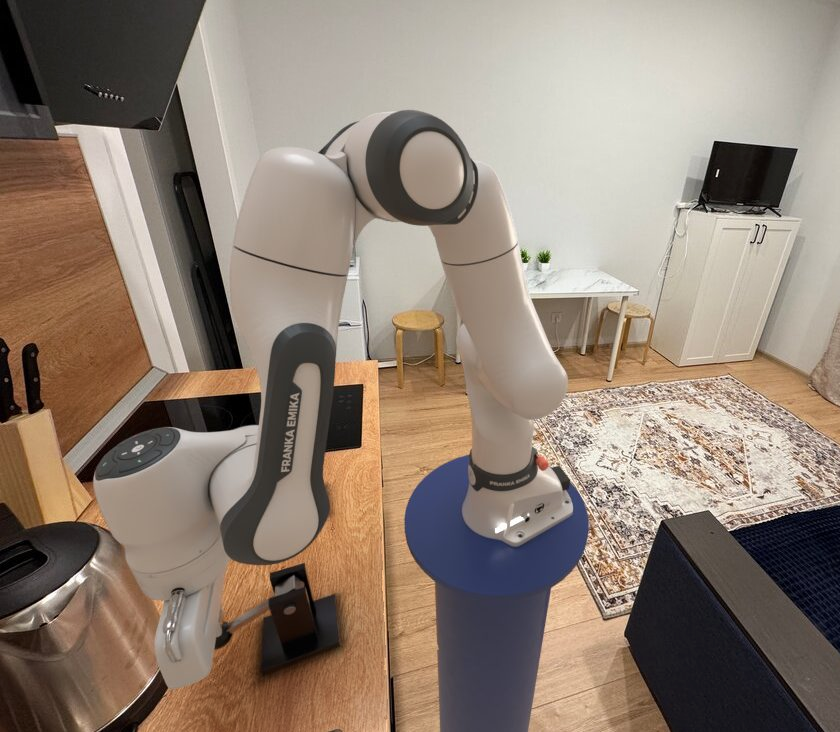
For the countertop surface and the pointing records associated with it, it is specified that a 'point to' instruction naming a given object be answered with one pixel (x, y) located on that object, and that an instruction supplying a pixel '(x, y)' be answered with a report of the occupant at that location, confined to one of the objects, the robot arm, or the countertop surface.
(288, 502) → the robot arm
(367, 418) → the countertop surface
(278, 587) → the tap lever
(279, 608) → the bracket
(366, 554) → the countertop surface
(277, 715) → the countertop surface
